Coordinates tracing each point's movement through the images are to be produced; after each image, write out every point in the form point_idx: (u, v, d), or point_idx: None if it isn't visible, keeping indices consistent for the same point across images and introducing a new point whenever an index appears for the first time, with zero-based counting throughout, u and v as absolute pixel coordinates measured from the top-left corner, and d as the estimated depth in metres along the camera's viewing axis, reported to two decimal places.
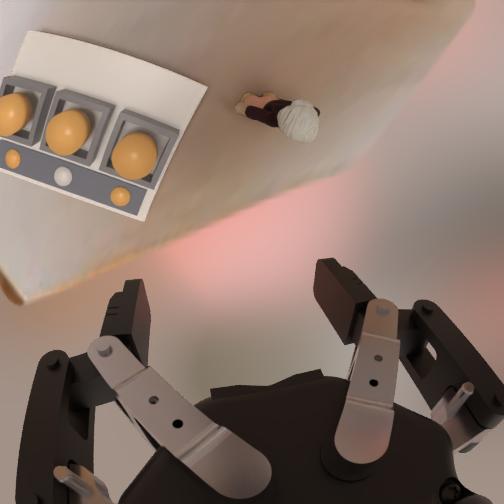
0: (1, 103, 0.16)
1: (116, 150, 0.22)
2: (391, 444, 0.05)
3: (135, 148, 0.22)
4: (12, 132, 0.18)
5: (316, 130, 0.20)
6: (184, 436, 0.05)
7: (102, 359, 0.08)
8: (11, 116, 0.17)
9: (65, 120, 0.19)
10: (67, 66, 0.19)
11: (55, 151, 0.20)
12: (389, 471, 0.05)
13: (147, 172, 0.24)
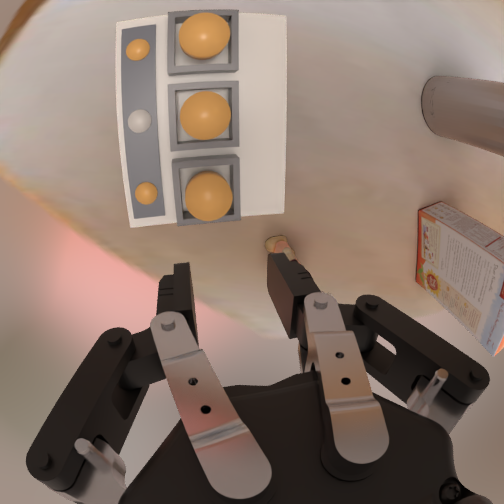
0: (217, 22, 0.17)
1: (209, 178, 0.24)
2: (391, 444, 0.05)
3: (219, 196, 0.24)
4: (186, 48, 0.18)
5: None
6: (206, 423, 0.06)
7: (168, 333, 0.09)
8: (205, 40, 0.18)
9: (220, 110, 0.21)
10: (258, 75, 0.24)
11: (182, 112, 0.20)
12: (389, 471, 0.05)
13: (201, 218, 0.25)
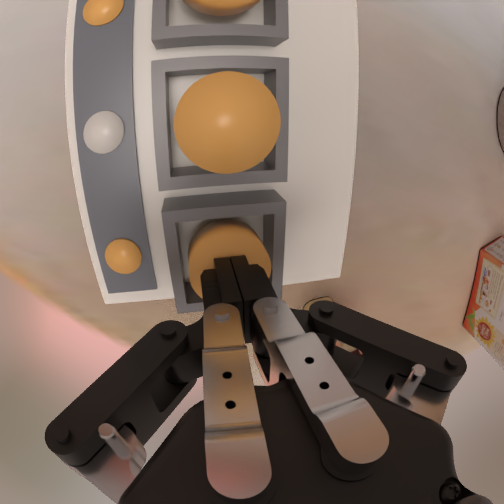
0: None
1: (232, 240, 0.13)
2: (391, 444, 0.05)
3: None
4: None
5: None
6: (227, 418, 0.06)
7: (224, 324, 0.09)
8: None
9: (260, 113, 0.10)
10: (314, 55, 0.13)
11: (178, 114, 0.10)
12: (389, 471, 0.05)
13: None
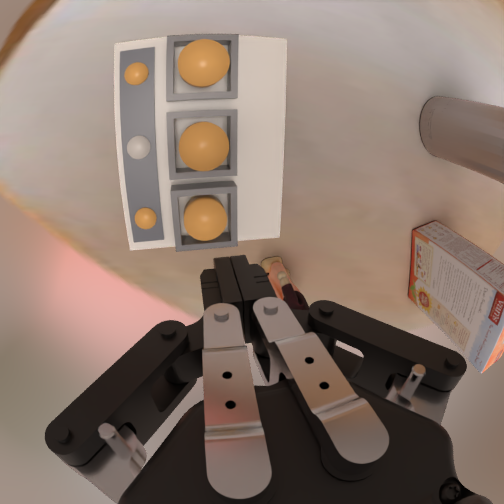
0: (217, 49, 0.18)
1: (206, 202, 0.26)
2: (391, 444, 0.05)
3: (215, 218, 0.27)
4: (185, 77, 0.19)
5: None
6: (226, 418, 0.06)
7: (224, 324, 0.09)
8: (204, 69, 0.19)
9: (219, 142, 0.22)
10: (256, 102, 0.25)
11: (181, 143, 0.21)
12: (389, 471, 0.05)
13: (198, 238, 0.27)
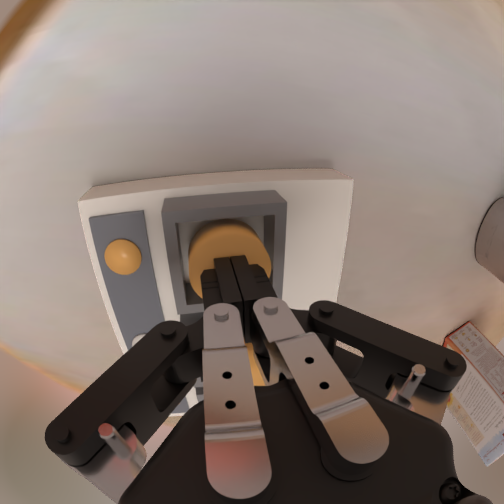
0: (251, 251, 0.14)
1: None
2: (391, 444, 0.05)
3: None
4: None
5: None
6: (226, 418, 0.06)
7: (224, 324, 0.09)
8: None
9: (258, 373, 0.17)
10: (303, 281, 0.19)
11: None
12: (389, 471, 0.05)
13: None
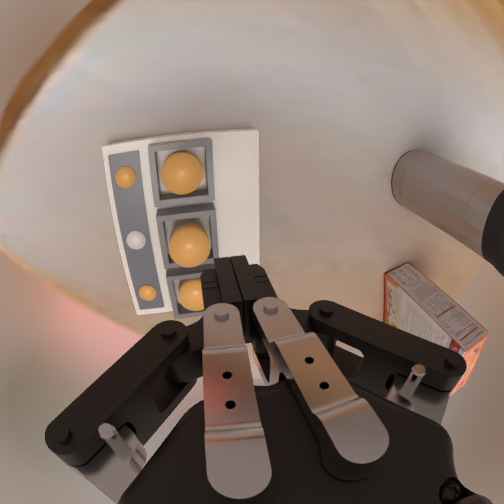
0: (191, 162, 0.26)
1: (195, 284, 0.32)
2: (391, 444, 0.05)
3: None
4: (168, 188, 0.27)
5: None
6: (226, 418, 0.06)
7: (224, 324, 0.09)
8: (183, 180, 0.27)
9: (201, 245, 0.28)
10: (233, 194, 0.31)
11: (170, 247, 0.28)
12: (389, 471, 0.05)
13: (191, 309, 0.34)
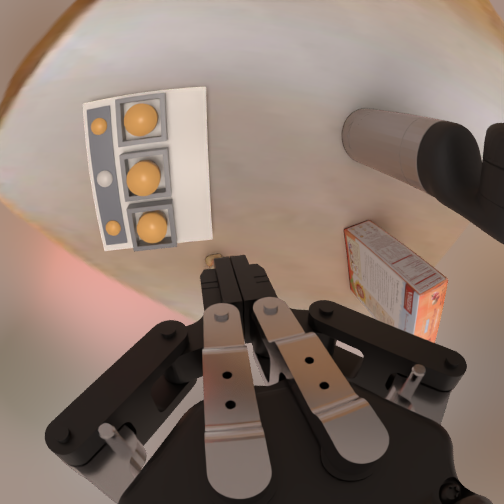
0: (148, 110, 0.30)
1: (151, 216, 0.36)
2: (391, 444, 0.05)
3: (158, 227, 0.37)
4: (129, 131, 0.30)
5: None
6: (227, 418, 0.06)
7: (224, 324, 0.09)
8: (141, 125, 0.30)
9: (152, 175, 0.32)
10: (185, 139, 0.34)
11: (127, 178, 0.31)
12: (389, 471, 0.05)
13: (148, 241, 0.37)
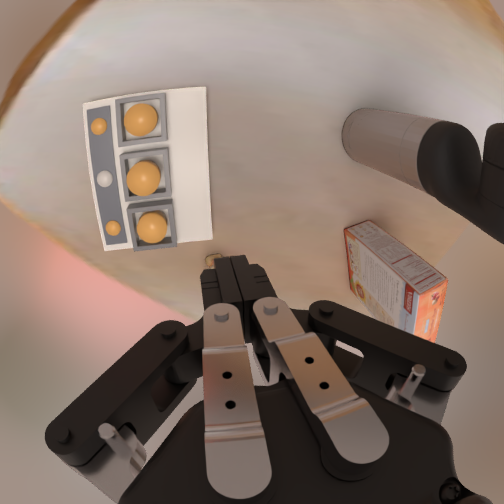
0: (148, 110, 0.30)
1: (151, 216, 0.36)
2: (391, 444, 0.05)
3: (158, 227, 0.37)
4: (129, 131, 0.30)
5: None
6: (227, 418, 0.06)
7: (224, 324, 0.09)
8: (141, 125, 0.30)
9: (152, 175, 0.32)
10: (185, 139, 0.34)
11: (127, 178, 0.31)
12: (389, 471, 0.05)
13: (148, 241, 0.37)
